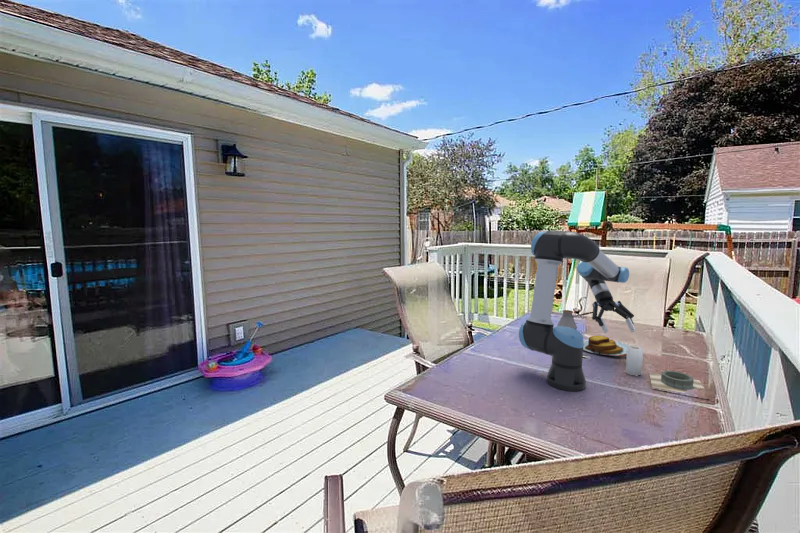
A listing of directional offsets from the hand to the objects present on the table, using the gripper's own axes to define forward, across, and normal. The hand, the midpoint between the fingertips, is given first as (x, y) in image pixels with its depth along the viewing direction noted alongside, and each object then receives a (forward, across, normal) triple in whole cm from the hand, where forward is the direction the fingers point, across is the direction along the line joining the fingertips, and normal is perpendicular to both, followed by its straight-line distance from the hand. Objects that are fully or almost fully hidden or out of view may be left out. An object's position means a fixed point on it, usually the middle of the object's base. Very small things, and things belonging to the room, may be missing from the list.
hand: (619, 331), depth 173 cm
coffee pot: (-25, -8, -48) cm, 55 cm away
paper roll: (+19, 0, -4) cm, 20 cm away
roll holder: (+29, -9, +6) cm, 30 cm away
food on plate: (-2, -6, -26) cm, 27 cm away
